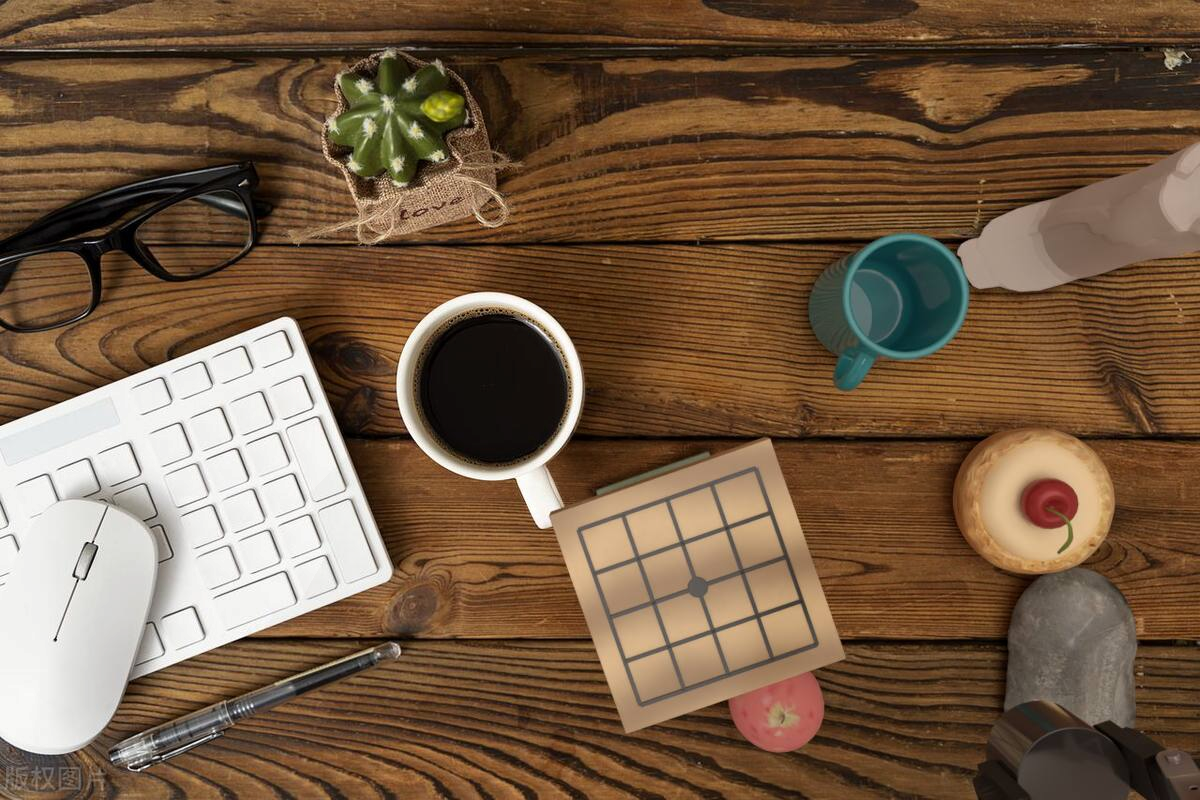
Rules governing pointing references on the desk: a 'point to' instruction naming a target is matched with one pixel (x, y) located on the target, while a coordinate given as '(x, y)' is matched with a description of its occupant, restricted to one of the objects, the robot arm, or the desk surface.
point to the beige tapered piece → (1092, 229)
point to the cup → (888, 304)
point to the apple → (780, 713)
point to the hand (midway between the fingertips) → (1049, 761)
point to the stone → (1074, 647)
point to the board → (696, 583)
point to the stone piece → (1057, 754)
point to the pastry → (1033, 500)
